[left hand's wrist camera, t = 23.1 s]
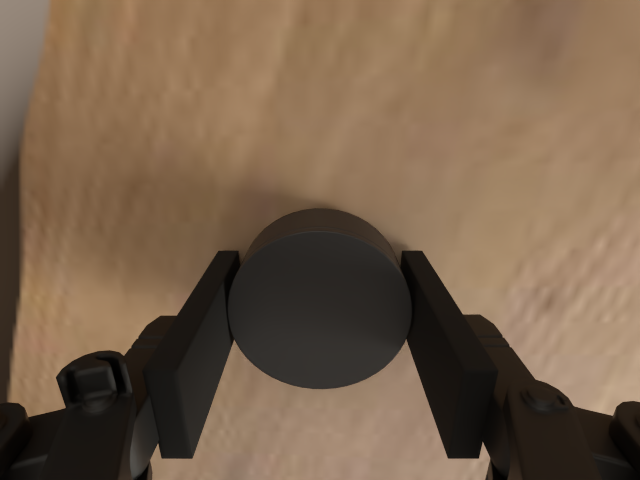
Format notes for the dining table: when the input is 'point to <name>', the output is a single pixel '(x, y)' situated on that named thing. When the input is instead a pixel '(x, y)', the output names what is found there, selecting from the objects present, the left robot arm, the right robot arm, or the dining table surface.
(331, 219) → the lid
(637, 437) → the left robot arm
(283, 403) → the dining table surface
